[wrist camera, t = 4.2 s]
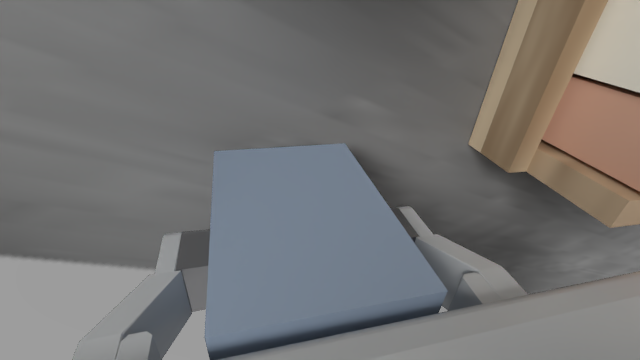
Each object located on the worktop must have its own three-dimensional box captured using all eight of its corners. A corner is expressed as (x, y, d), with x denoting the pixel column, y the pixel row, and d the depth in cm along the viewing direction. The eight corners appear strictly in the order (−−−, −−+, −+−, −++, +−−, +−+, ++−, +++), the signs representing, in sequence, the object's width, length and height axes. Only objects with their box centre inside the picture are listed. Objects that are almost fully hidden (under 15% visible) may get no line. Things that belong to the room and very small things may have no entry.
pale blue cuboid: (223, 220, 14) (223, 417, 8) (214, 151, 12) (204, 337, 6) (337, 208, 15) (414, 369, 9) (344, 143, 13) (448, 290, 7)
